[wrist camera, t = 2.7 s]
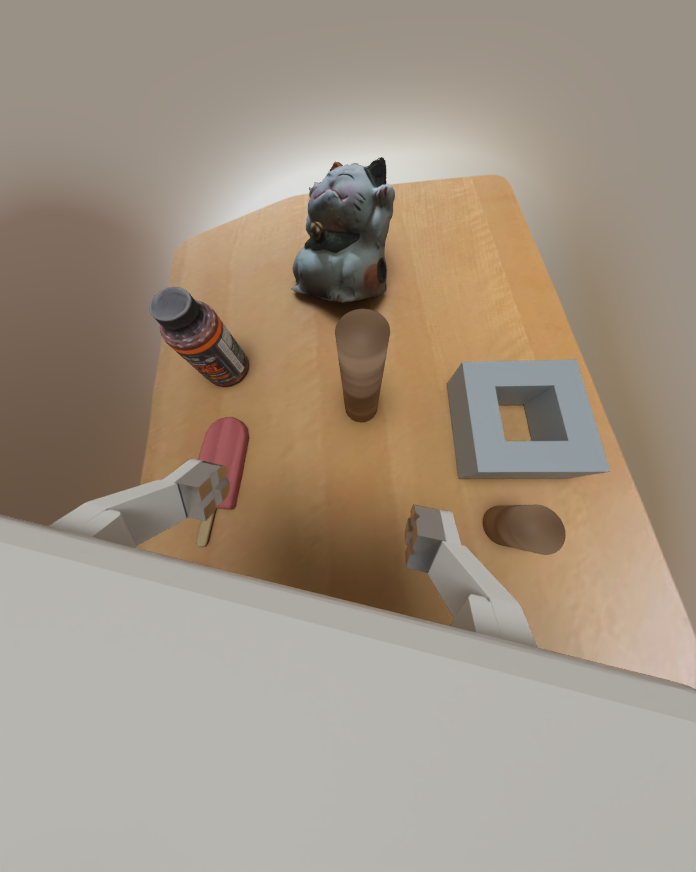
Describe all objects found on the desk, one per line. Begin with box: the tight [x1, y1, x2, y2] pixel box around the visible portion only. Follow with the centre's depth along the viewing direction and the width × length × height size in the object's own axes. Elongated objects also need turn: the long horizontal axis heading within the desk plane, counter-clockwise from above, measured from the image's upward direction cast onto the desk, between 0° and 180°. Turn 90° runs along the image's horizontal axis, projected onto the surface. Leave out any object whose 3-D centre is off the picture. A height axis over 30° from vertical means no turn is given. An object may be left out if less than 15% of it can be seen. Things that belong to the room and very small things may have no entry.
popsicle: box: [196, 417, 249, 547], centre depth 29 cm, size 5×2×15 cm
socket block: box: [447, 360, 610, 479], centre depth 28 cm, size 12×12×5 cm
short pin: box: [483, 505, 565, 555], centre depth 24 cm, size 4×4×6 cm
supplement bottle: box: [149, 287, 248, 386], centre depth 29 cm, size 6×6×11 cm
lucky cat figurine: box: [291, 157, 395, 303], centre depth 32 cm, size 15×12×14 cm
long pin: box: [335, 309, 390, 422], centre depth 25 cm, size 4×4×14 cm
